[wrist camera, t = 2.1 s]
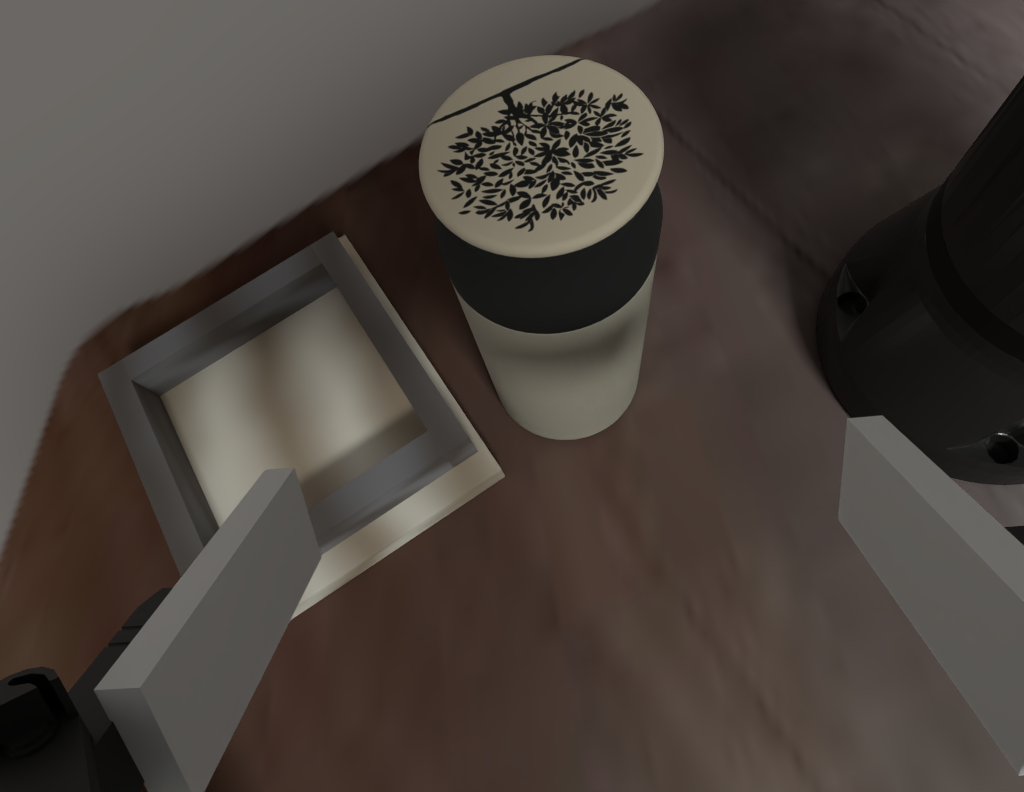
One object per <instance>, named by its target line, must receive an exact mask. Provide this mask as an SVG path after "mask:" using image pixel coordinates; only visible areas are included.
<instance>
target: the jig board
mask: <svg viewBox="0 0 1024 792" xmlns="http://www.w3.org/2000/svg"><path fill="white" fill-rule="evenodd" d="M98 377H99V379H100V381H101V384H102V386H103V389H104V391H105V394H106V396H107V398H108V401H109V403H110V406H111V408H112V411H113V413H114V415H115V418H116V420H117V423H118V425H119V428H120V430H121V432H122V435H123V437H124V440H125V442H126V445H127V447H128V449H129V452H130V454H131V457H132V459H133V462H134V464H135V466H136V469H137V471H138V474H139V476H140V479H141V481H142V483H143V486H144V488H145V491H146V493H147V496H148V498H149V500H150V503H151V505H152V508H153V510H154V513H155V515H156V517H157V520H158V522H159V525H160V527H161V530H162V532H163V534H164V537H165V539H166V542H167V544H168V547H169V549H170V551H171V554H172V556H173V559H174V561H175V564H176V566H177V568H178V571H179V573H180V576H181V577H182V576H183V575H184V573H185V572H186V571H187V569H188V568H189V567H190V566H191V564H192V563H193V562H194V560H195V559H196V558H197V557H198V555H199V554H200V553H201V551H202V550H203V549H204V548H205V546H206V545H207V544H208V542H209V541H210V540H211V539H212V537H213V536H214V535H215V533H216V532H217V531H218V530H219V528H220V527H221V526H222V524H223V523H224V522H225V521H226V519H227V518H228V517H229V515H230V514H231V513H232V512H233V510H234V509H235V508H236V506H237V505H238V504H239V503H240V501H241V500H242V499H243V497H244V496H245V495H246V494H247V492H248V491H249V490H250V488H251V487H252V486H253V485H254V483H255V482H256V481H257V479H258V478H259V477H260V476H261V474H262V473H263V472H264V470H268V469H279V468H291V467H295V470H296V474H297V477H298V480H299V484H300V487H301V490H302V494H303V497H304V500H305V503H306V507H307V510H308V513H309V517H310V520H311V523H312V527H313V530H314V533H315V536H316V540H317V543H318V546H319V550H320V553H321V556H322V558H321V560H320V562H319V564H318V566H317V568H316V570H315V572H314V574H313V576H312V578H311V580H310V582H309V584H308V586H307V588H306V590H305V592H304V594H303V596H302V598H301V600H300V602H299V604H298V606H297V608H296V610H295V612H294V614H293V616H292V618H291V620H292V619H293V618H295V617H296V616H298V615H299V614H300V613H302V612H303V611H305V610H306V609H308V608H309V607H311V606H312V605H314V604H315V603H317V602H318V601H320V600H321V599H323V598H324V597H326V596H327V595H329V594H330V593H332V592H333V591H335V590H336V589H338V588H339V587H341V586H342V585H344V584H345V583H347V582H348V581H350V580H351V579H353V578H354V577H356V576H357V575H359V574H360V573H362V572H363V571H365V570H366V569H368V568H369V567H371V566H372V565H374V564H375V563H377V562H378V561H380V560H381V559H383V558H384V557H386V556H387V555H389V554H390V553H392V552H393V551H395V550H396V549H398V548H399V547H401V546H402V545H404V544H405V543H407V542H408V541H410V540H411V539H413V538H414V537H416V536H417V535H419V534H420V533H422V532H423V531H425V530H426V529H427V528H429V527H430V526H432V525H433V524H435V523H436V522H438V521H439V520H441V519H442V518H444V517H445V516H447V515H448V514H450V513H451V512H453V511H454V510H456V509H457V508H459V507H460V506H462V505H463V504H465V503H466V502H468V501H469V500H471V499H472V498H474V497H475V496H477V495H478V494H480V493H481V492H483V491H484V490H486V489H487V488H489V487H490V486H492V485H493V484H495V483H496V482H498V481H499V480H501V479H502V478H504V477H505V475H504V473H503V471H502V470H501V468H500V467H499V465H498V464H497V462H496V461H495V459H494V458H493V456H492V455H491V453H490V452H489V450H488V449H487V447H486V446H485V444H484V443H483V441H482V440H481V438H480V437H479V435H478V434H477V432H476V431H475V429H474V428H473V426H472V425H471V423H470V422H469V420H468V419H467V417H466V416H465V414H464V413H463V411H462V410H461V408H460V407H459V405H458V404H457V402H456V401H455V399H454V398H453V396H452V395H451V393H450V392H449V390H448V389H447V387H446V386H445V384H444V383H443V381H442V380H441V378H440V377H439V375H438V373H437V372H436V370H435V369H434V367H433V366H432V364H431V363H430V361H429V360H428V358H427V357H426V355H425V354H424V352H423V351H422V349H421V348H420V346H419V345H418V343H417V342H416V340H415V339H414V337H413V336H412V334H411V333H410V331H409V330H408V328H407V327H406V325H405V324H404V322H403V321H402V319H401V318H400V316H399V315H398V313H397V312H396V310H395V309H394V307H393V306H392V304H391V303H390V301H389V300H388V298H387V297H386V295H385V294H384V292H383V291H382V289H381V288H380V286H379V285H378V283H377V282H376V280H375V279H374V277H373V276H372V274H371V273H370V271H369V270H368V268H367V267H366V265H365V264H364V262H363V261H362V259H361V258H360V256H359V255H358V253H357V252H356V250H355V249H354V247H353V246H352V244H351V243H350V241H349V240H348V238H347V237H346V235H343V236H342V237H340V238H337V236H336V235H335V233H334V232H331V233H329V234H328V235H326V236H324V237H323V238H321V239H319V240H318V241H316V242H314V243H313V244H311V245H309V246H308V247H306V248H305V249H303V250H301V251H300V252H298V253H296V254H295V255H293V256H291V257H290V258H288V259H286V260H285V261H283V262H281V263H280V264H278V265H277V266H275V267H273V268H272V269H270V270H268V271H267V272H265V273H263V274H262V275H260V276H258V277H257V278H255V279H253V280H252V281H250V282H249V283H247V284H245V285H244V286H242V287H240V288H239V289H237V290H235V291H234V292H232V293H230V294H229V295H227V296H225V297H224V298H222V299H221V300H219V301H217V302H216V303H214V304H212V305H211V306H209V307H207V308H206V309H204V310H202V311H201V312H199V313H197V314H196V315H194V316H193V317H191V318H189V319H188V320H186V321H184V322H183V323H181V324H179V325H178V326H176V327H174V328H173V329H171V330H169V331H168V332H166V333H165V334H163V335H161V336H160V337H158V338H156V339H155V340H153V341H151V342H150V343H148V344H146V345H145V346H143V347H141V348H140V349H138V350H137V351H135V352H133V353H132V354H130V355H128V356H127V357H125V358H123V359H122V360H120V361H118V362H117V363H115V364H113V365H112V366H110V367H109V368H107V369H105V370H104V371H102V372H100V373H99V374H98Z"/></svg>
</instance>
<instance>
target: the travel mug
mask: <svg viewBox="0 0 1024 792" xmlns="http://www.w3.org/2000/svg"><path fill="white" fill-rule="evenodd" d="M663 156H664V139H663V133H662V127H661V124H660V121H659V118H658V116H657V114H656V111H655V109H654V107H653V106H652V104H651V103H650V101H649V100H648V98H647V97H646V96H645V94H644V93H643V92H642V91H641V90H640V89H639V88H638V87H637V86H636V85H635V84H634V83H633V82H631V81H630V80H629V79H628V78H626V77H625V76H623V75H622V74H620V73H619V72H617V71H615V70H613V69H611V68H609V67H607V66H604V65H602V64H600V63H597V62H593V61H590V60H586V59H582V58H577V57H570V56H558V55H546V56H534V57H528V58H522V59H518V60H513V61H510V62H507V63H503V64H501V65H498V66H495V67H493V68H491V69H489V70H487V71H484V72H483V73H480V74H479V75H477V76H475V77H473V78H472V79H471V80H469V81H467V82H466V83H465V84H463V85H462V86H461V87H460V88H458V89H457V90H456V91H455V92H454V93H453V94H452V95H450V96H449V97H448V98H447V100H446V101H445V102H444V103H443V104H442V105H441V106H440V108H439V109H438V111H437V112H436V113H435V115H434V117H433V118H432V120H431V121H430V123H429V126H428V128H427V130H426V132H425V135H424V138H423V141H422V144H421V149H420V156H419V175H420V182H421V186H422V189H423V192H424V195H425V197H426V200H427V202H428V204H429V205H430V207H431V209H432V211H433V212H434V213H435V237H436V242H437V246H438V249H439V252H440V255H441V257H442V260H443V262H444V265H445V267H446V270H447V272H448V274H449V277H450V279H451V282H452V284H453V287H454V289H455V292H456V294H457V296H458V299H459V301H460V304H461V306H462V309H463V311H464V314H465V316H466V318H467V321H468V323H469V326H470V328H471V331H472V333H473V335H474V338H475V340H476V343H477V345H478V348H479V350H480V353H481V355H482V357H483V360H484V362H485V365H486V367H487V370H488V372H489V375H490V377H491V379H492V382H493V384H494V387H495V389H496V392H497V394H498V396H499V399H500V401H501V403H502V405H503V407H504V408H505V410H506V411H507V413H508V414H509V415H510V416H511V417H512V418H513V419H514V420H515V421H516V422H517V423H518V424H519V425H521V426H522V427H523V428H525V429H527V430H528V431H530V432H532V433H534V434H537V435H539V436H542V437H546V438H550V439H557V440H573V439H580V438H584V437H588V436H591V435H594V434H596V433H598V432H600V431H602V430H604V429H606V428H607V427H609V426H610V425H611V424H613V423H614V422H615V421H616V420H617V419H618V418H619V417H620V416H621V415H622V414H623V413H624V412H625V410H626V409H627V408H628V406H629V404H630V403H631V401H632V399H633V396H634V394H635V391H636V387H637V383H638V377H639V370H640V363H641V357H642V350H643V344H644V337H645V331H646V324H647V317H648V311H649V304H650V298H651V291H652V284H653V278H654V271H655V265H656V258H657V251H658V245H659V238H660V232H661V225H662V217H663V206H662V198H661V193H660V189H659V186H658V183H657V181H658V178H659V175H660V172H661V168H662V163H663Z"/></svg>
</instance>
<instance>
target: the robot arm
mask: <svg viewBox="0 0 1024 792" xmlns="http://www.w3.org/2000/svg"><path fill="white" fill-rule="evenodd" d="M816 333H817V345H818V351H819V356H820V360H821V363H822V367H823V369H824V372H825V375H826V377H827V379H828V381H829V383H830V386H831V387H832V389H833V391H834V393H835V394H836V396H837V398H838V399H839V401H840V402H841V404H842V405H843V406H844V408H845V409H846V410H847V411H848V413H849V414H850V415H851V416H852V417H853V418H847V426H846V437H845V448H844V459H843V470H842V481H841V491H840V502H839V513H838V520H839V521H840V523H841V524H842V526H843V527H844V528H845V530H846V531H847V533H848V534H849V536H850V537H851V538H852V540H853V541H854V543H855V544H856V545H857V547H858V548H859V550H860V551H861V553H862V554H863V555H864V557H865V558H866V560H867V561H868V563H869V564H870V565H871V567H872V568H873V570H874V571H875V572H876V574H877V575H878V577H879V578H880V580H881V581H882V582H883V584H884V585H885V587H886V588H887V589H888V591H889V592H890V594H891V595H892V597H893V598H894V599H895V601H896V602H897V604H898V605H899V607H900V608H901V609H902V611H903V612H904V614H905V615H906V616H907V618H908V619H909V621H910V622H911V624H912V625H913V626H914V628H915V629H916V631H917V632H918V633H919V635H920V636H921V638H922V639H923V641H924V642H925V643H926V645H927V646H928V648H929V649H930V651H931V652H932V653H933V655H934V656H935V658H936V659H937V660H938V662H939V663H940V665H941V666H942V668H943V669H944V670H945V672H946V673H947V675H948V676H949V678H950V679H951V680H952V682H953V683H954V685H955V686H956V687H957V689H958V690H959V692H960V693H961V695H962V696H963V697H964V699H965V700H966V702H967V703H968V704H969V706H970V707H971V709H972V710H973V712H974V713H975V714H976V716H977V717H978V719H979V720H980V722H981V723H982V724H983V726H984V727H985V729H986V730H987V731H988V733H989V734H990V736H991V737H992V739H993V740H994V741H995V743H996V744H997V746H998V747H999V748H1000V750H1001V751H1002V753H1003V754H1004V756H1005V757H1006V758H1007V760H1008V761H1009V763H1010V764H1011V766H1012V767H1013V768H1014V770H1015V771H1016V773H1017V774H1018V775H1019V776H1024V526H1015V527H1003V526H1002V525H1001V524H1000V523H999V522H998V521H997V520H995V519H994V518H993V517H992V516H991V515H990V514H989V513H988V512H987V511H986V510H985V509H984V508H982V507H981V506H980V505H979V504H978V503H977V502H976V501H975V500H974V499H973V498H972V497H970V496H969V495H968V494H967V493H966V492H965V491H964V490H963V489H962V488H961V487H960V486H959V485H957V484H956V483H955V482H954V481H953V480H952V479H951V478H955V479H959V480H964V481H969V482H975V483H982V484H994V485H1013V484H1024V76H1023V77H1022V79H1021V80H1020V81H1019V83H1018V84H1017V85H1016V87H1015V88H1014V90H1013V91H1012V92H1011V94H1010V95H1009V96H1008V98H1007V99H1006V100H1005V102H1004V103H1003V104H1002V106H1001V107H1000V108H999V110H998V111H997V112H996V114H995V115H994V116H993V118H992V119H991V120H990V122H989V123H988V124H987V126H986V127H985V128H984V130H983V131H982V132H981V134H980V135H979V136H978V138H977V139H976V140H975V142H974V143H973V144H972V146H971V147H970V149H969V150H968V151H967V153H966V154H965V155H964V157H963V158H962V159H961V161H960V162H959V163H958V165H957V166H956V167H955V169H954V170H953V171H952V173H951V174H950V175H949V177H948V178H947V179H946V181H945V182H944V183H943V184H942V185H940V186H939V187H937V188H935V189H934V190H932V191H930V192H929V193H927V194H925V195H924V196H922V197H921V198H919V199H917V200H916V201H914V202H912V203H911V204H909V205H907V206H906V207H904V208H903V209H901V210H899V211H898V212H896V213H894V214H893V215H891V216H889V217H888V218H886V219H885V220H883V221H881V222H880V223H878V224H877V225H876V226H874V227H873V228H872V229H870V230H869V231H868V232H867V233H866V234H865V235H864V236H862V237H861V238H860V239H859V240H858V241H857V242H856V243H855V244H854V246H853V247H852V248H851V249H850V250H849V252H848V253H847V254H846V256H845V257H844V259H843V260H842V262H841V263H840V265H839V266H838V268H837V269H836V271H835V273H834V274H833V276H832V277H831V279H830V281H829V282H828V284H827V286H826V288H825V291H824V293H823V296H822V299H821V301H820V305H819V309H818V316H817V326H816ZM950 477H951V478H950ZM321 558H322V556H321V553H320V550H319V546H318V543H317V540H316V536H315V533H314V530H313V527H312V523H311V520H310V517H309V513H308V510H307V507H306V503H305V500H304V497H303V494H302V490H301V487H300V484H299V480H298V477H297V474H296V470H295V467H291V468H279V469H268V470H264V472H263V473H262V474H261V476H260V477H259V478H258V479H257V481H256V482H255V483H254V485H253V486H252V487H251V488H250V490H249V491H248V492H247V494H246V495H245V496H244V497H243V499H242V500H241V501H240V503H239V504H238V505H237V506H236V508H235V509H234V510H233V512H232V513H231V514H230V515H229V517H228V518H227V519H226V521H225V522H224V523H223V524H222V526H221V527H220V528H219V530H218V531H217V532H216V533H215V535H214V536H213V537H212V539H211V540H210V541H209V542H208V544H207V545H206V546H205V548H204V549H203V550H202V551H201V553H200V554H199V555H198V557H197V558H196V559H195V560H194V562H193V563H192V564H191V566H190V567H189V568H188V569H187V571H186V572H185V573H184V575H183V576H182V577H181V578H180V580H179V581H178V582H177V584H176V585H175V586H174V587H173V588H163V589H161V590H159V591H158V592H157V593H156V594H154V595H153V596H152V597H150V598H149V599H148V600H146V601H145V602H144V603H143V604H141V605H140V606H139V607H138V608H137V609H136V610H135V611H134V613H133V614H132V615H131V616H130V618H129V619H128V620H127V621H126V622H125V624H124V625H123V626H122V630H121V631H118V632H117V633H116V635H115V636H114V637H113V638H112V640H111V641H110V642H109V643H108V644H109V646H108V647H106V648H104V649H103V651H102V652H101V653H100V654H99V655H98V657H97V658H96V659H95V660H94V662H93V663H92V664H91V665H90V666H89V668H88V669H87V670H86V671H85V673H84V674H83V675H82V676H81V678H80V679H79V680H78V681H77V682H76V684H75V685H74V686H73V687H72V689H71V690H70V691H69V692H68V693H67V691H66V689H65V688H64V686H63V684H62V682H61V680H60V679H59V677H58V675H57V674H56V672H55V671H54V669H50V668H45V667H39V668H32V669H26V670H23V671H21V672H18V673H15V674H13V675H10V676H8V677H6V678H4V679H2V680H1V681H0V792H139V790H140V789H141V787H142V785H143V784H144V786H145V787H146V789H147V791H148V792H204V791H205V789H206V787H207V785H208V783H209V781H210V779H211V777H212V775H213V774H214V772H215V770H216V768H217V766H218V764H219V762H220V760H221V758H222V756H223V754H224V752H225V750H226V748H227V746H228V744H229V742H230V740H231V738H232V736H233V734H234V732H235V730H236V728H237V726H238V724H239V722H240V720H241V718H242V716H243V714H244V712H245V710H246V708H247V706H248V704H249V702H250V700H251V698H252V696H253V694H254V692H255V690H256V688H257V686H258V684H259V682H260V680H261V678H262V676H263V674H264V672H265V670H266V668H267V666H268V664H269V662H270V660H271V658H272V656H273V654H274V652H275V650H276V648H277V646H278V644H279V642H280V640H281V638H282V636H283V634H284V632H285V630H286V628H287V626H288V624H289V622H290V620H291V618H292V616H293V614H294V612H295V610H296V608H297V606H298V604H299V602H300V600H301V598H302V596H303V594H304V592H305V590H306V588H307V586H308V584H309V582H310V580H311V578H312V576H313V574H314V572H315V570H316V568H317V566H318V564H319V562H320V560H321Z"/></svg>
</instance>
